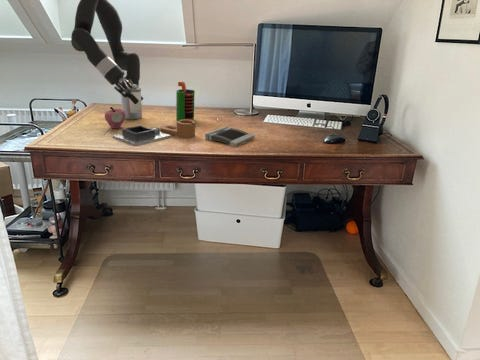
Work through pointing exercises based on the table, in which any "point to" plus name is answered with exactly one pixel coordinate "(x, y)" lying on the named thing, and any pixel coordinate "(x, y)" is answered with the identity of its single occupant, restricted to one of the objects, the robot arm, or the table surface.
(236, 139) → the grey square tray
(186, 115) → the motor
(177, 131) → the bracket
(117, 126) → the apple
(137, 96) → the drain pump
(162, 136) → the mount plate
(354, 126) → the table surface
